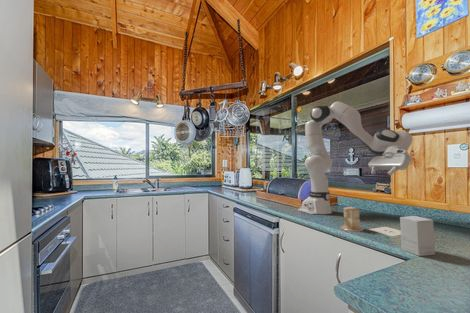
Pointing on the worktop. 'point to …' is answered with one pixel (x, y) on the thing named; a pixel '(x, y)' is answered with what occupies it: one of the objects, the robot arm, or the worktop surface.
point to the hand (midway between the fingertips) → (380, 173)
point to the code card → (387, 231)
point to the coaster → (352, 230)
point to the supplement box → (417, 235)
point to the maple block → (351, 218)
